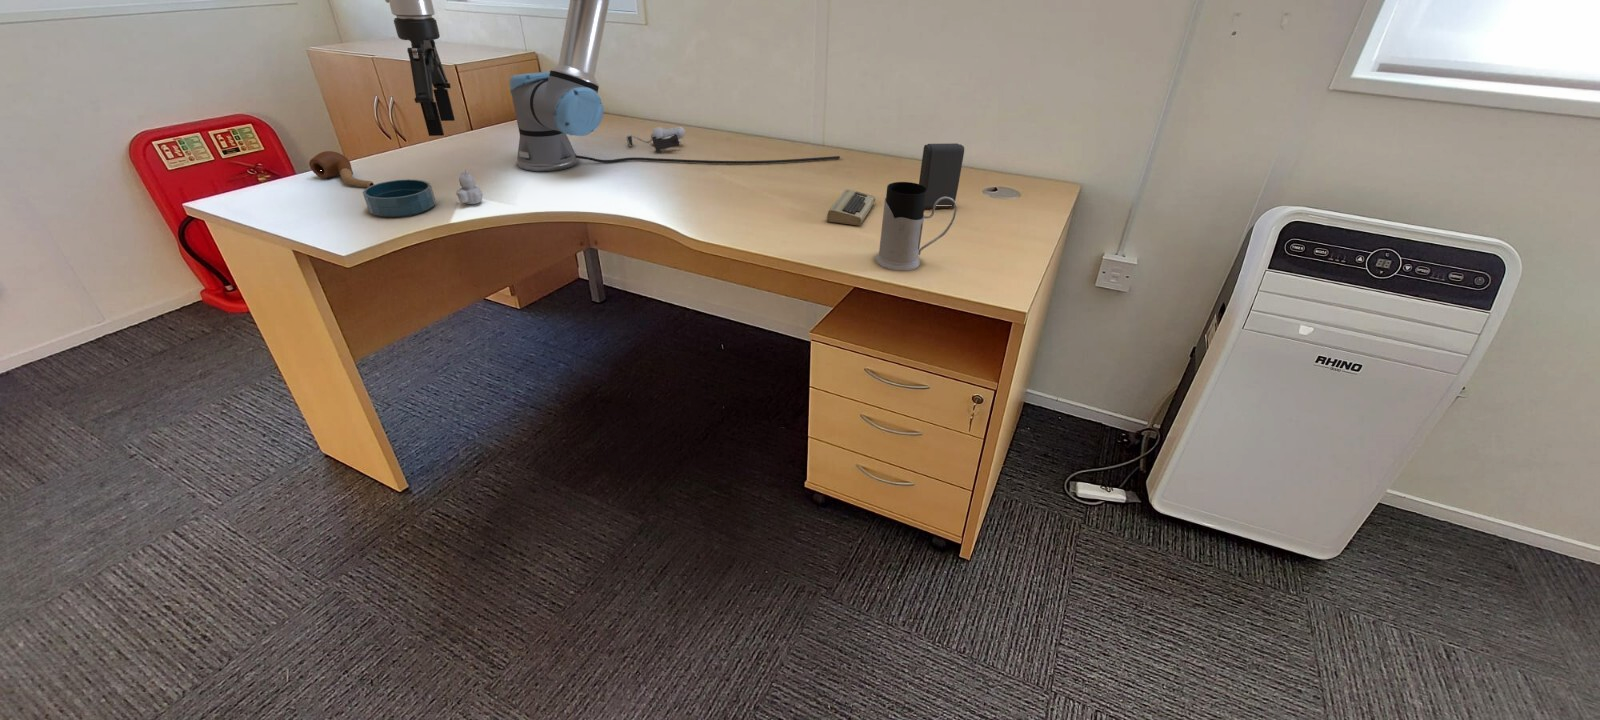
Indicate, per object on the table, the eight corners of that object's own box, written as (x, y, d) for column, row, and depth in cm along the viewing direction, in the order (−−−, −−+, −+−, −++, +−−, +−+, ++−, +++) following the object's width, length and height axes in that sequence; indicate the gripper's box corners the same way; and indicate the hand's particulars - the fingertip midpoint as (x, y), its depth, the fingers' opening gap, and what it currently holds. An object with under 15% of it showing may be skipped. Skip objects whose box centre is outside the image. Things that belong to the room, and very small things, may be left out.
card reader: (950, 203, 159) (960, 142, 151) (956, 209, 156) (966, 146, 148) (914, 204, 158) (923, 142, 150) (920, 210, 155) (929, 146, 146)
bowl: (440, 196, 151) (435, 178, 149) (430, 216, 140) (425, 196, 138) (377, 200, 148) (371, 181, 145) (362, 220, 137) (355, 200, 135)
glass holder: (875, 251, 133) (883, 179, 125) (944, 256, 132) (957, 184, 124) (876, 268, 125) (884, 193, 117) (949, 274, 125) (962, 198, 116)
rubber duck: (490, 200, 150) (482, 166, 146) (472, 210, 144) (463, 174, 140) (470, 198, 151) (461, 164, 146) (451, 207, 145) (441, 172, 141)
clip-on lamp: (623, 160, 191) (680, 151, 187) (615, 139, 187) (673, 129, 183) (635, 146, 200) (689, 137, 196) (628, 126, 196) (683, 116, 193)
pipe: (340, 170, 165) (332, 146, 162) (392, 182, 158) (384, 158, 155) (311, 178, 159) (302, 153, 156) (364, 190, 153) (355, 165, 149)
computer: (861, 227, 144) (862, 212, 142) (826, 222, 146) (827, 208, 144) (874, 205, 157) (876, 191, 155) (842, 200, 159) (843, 187, 157)
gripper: (407, 10, 136) (434, 115, 148) (376, 23, 116) (410, 142, 128) (445, 11, 138) (469, 114, 150) (422, 23, 118) (451, 141, 130)
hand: (442, 127), depth 139 cm, fingers open, 13 cm apart
